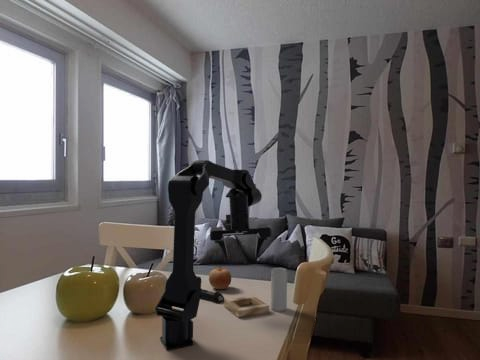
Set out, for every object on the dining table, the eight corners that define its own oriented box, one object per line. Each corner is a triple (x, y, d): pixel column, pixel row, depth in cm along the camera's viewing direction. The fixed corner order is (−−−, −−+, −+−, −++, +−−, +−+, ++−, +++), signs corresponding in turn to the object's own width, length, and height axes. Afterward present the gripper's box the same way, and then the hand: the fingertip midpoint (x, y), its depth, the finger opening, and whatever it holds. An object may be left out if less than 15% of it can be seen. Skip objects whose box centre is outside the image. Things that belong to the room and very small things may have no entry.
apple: (207, 285, 131) (207, 263, 131) (229, 284, 133) (229, 263, 132) (209, 292, 123) (210, 269, 123) (232, 291, 125) (233, 268, 125)
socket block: (238, 318, 101) (238, 310, 101) (223, 306, 110) (224, 299, 110) (269, 312, 106) (269, 305, 105) (252, 301, 114) (252, 295, 114)
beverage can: (273, 312, 105) (274, 271, 105) (268, 307, 110) (268, 267, 110) (289, 311, 107) (289, 271, 106) (283, 305, 111) (283, 267, 111)
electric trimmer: (189, 293, 124) (189, 283, 124) (225, 301, 115) (225, 291, 115) (181, 295, 121) (181, 286, 121) (218, 304, 112) (218, 294, 112)
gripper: (266, 203, 119) (268, 249, 121) (209, 206, 119) (212, 252, 120) (270, 210, 108) (272, 260, 110) (208, 213, 108) (211, 264, 109)
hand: (241, 258), depth 113 cm, fingers open, 9 cm apart
